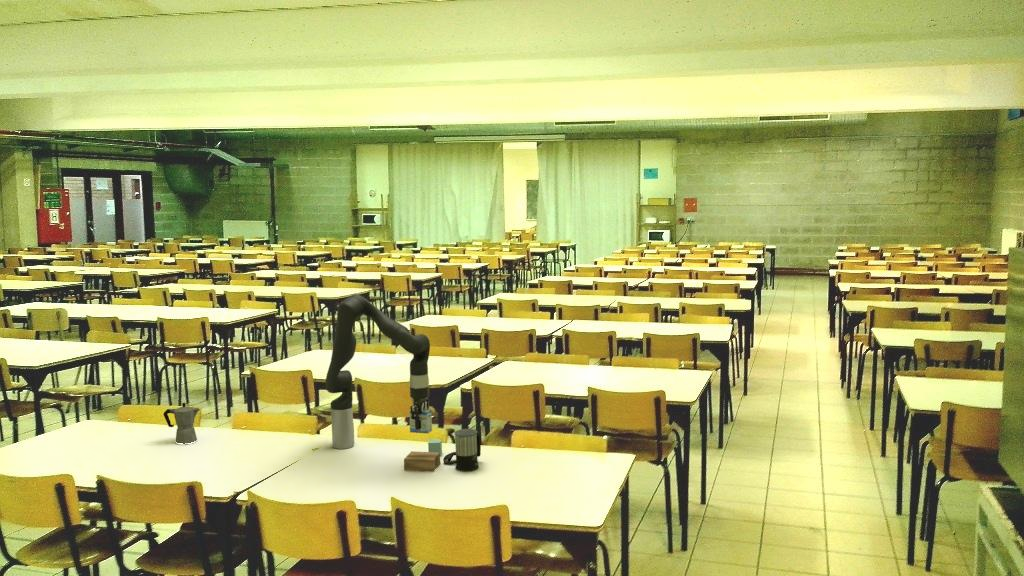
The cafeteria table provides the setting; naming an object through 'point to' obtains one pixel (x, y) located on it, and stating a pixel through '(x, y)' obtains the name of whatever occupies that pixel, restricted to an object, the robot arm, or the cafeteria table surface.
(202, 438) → the cafeteria table surface
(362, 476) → the cafeteria table surface
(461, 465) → the milk frother
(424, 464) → the walnut block
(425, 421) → the medicine box
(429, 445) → the teal block
